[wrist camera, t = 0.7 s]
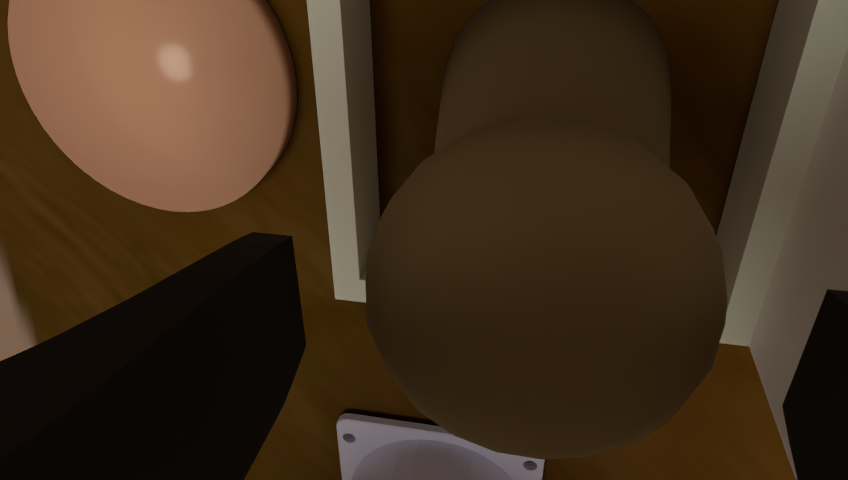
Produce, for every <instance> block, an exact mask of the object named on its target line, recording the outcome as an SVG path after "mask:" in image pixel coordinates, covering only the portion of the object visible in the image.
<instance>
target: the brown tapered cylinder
mask: <svg viewBox="0 0 848 480" xmlns="http://www.w3.org/2000/svg"><path fill="white" fill-rule="evenodd" d="M671 106H672V80H671V72H670V65H669V57H668V50H667V47H666V45H665V43H664V41H663V40H662V38H661V36H660V34H659V32H658V30H657V28H656V26H655V24H654V22H653V21H652V19H651V17H650V16H649V15H648V14H647V13H646V12H645V11H644V10H643V9H641V8H640V7H639V6H638V5H637V4H636V3H635V2H634V1H632V0H489V1H488V2H486V3H485V4H484V5H482V6H481V7H479V8H478V9H477V11H476V12H475V13H474V14H473V16H472V17H471V18H470V20H469V21H468V22H467V24H466V25H465V26H464V27H463V29H462V30H461V31H460V33H459V34H458V35H457V37H456V39H455V42H454V45H453V47H452V50H451V53H450V56H449V59H448V62H447V64H446V67H445V70H444V78H443V86H442V94H441V101H440V109H439V117H438V125H437V133H436V140H435V148H434V154H432V155H430V156H429V157H427V158H426V159H424V160H423V161H422V162H421V163H420V164H419V165H418V167H417V168H416V169H415V170H414V171H413V173H412V174H411V175H410V176H409V177H408V179H407V180H406V181H405V182H404V183H403V184H402V186H401V187H400V188H399V189H398V190H397V192H396V193H395V194H394V195H393V196H392V198H391V199H390V201H389V203H388V205H387V207H386V208H385V210H384V212H383V214H382V216H381V218H380V221H379V224H378V227H377V230H376V233H375V236H374V239H373V242H372V245H371V248H370V251H369V253H368V256H367V261H366V278H365V286H366V306H367V324H368V327H369V329H370V331H371V334H372V336H373V338H374V341H375V343H376V345H377V348H378V350H379V352H380V355H381V357H382V360H383V362H384V364H385V366H386V368H387V370H388V372H389V374H390V376H391V378H392V381H393V382H394V383H395V384H396V385H397V386H398V388H399V389H400V390H401V391H402V392H403V393H404V395H405V396H406V397H407V398H408V399H409V400H410V401H411V403H412V404H413V405H414V406H415V407H416V408H417V410H418V411H419V412H420V413H422V414H423V415H425V416H426V417H428V418H429V419H431V420H432V421H434V422H435V423H437V424H438V425H439V426H441V427H442V428H444V429H445V430H447V431H448V432H450V433H451V434H453V435H454V436H456V437H459V438H461V439H464V440H466V441H469V442H471V443H474V444H477V445H479V446H482V447H484V448H487V449H489V450H492V451H494V452H497V453H504V454H510V455H516V456H523V457H529V458H535V459H542V460H544V459H561V458H579V457H590V456H593V455H597V454H600V453H603V452H607V451H610V450H613V449H617V448H620V447H623V446H627V445H630V444H633V443H634V442H636V441H638V440H639V439H641V438H642V437H644V436H646V435H647V434H649V433H650V432H652V431H654V430H655V429H657V428H658V427H660V426H662V425H663V424H665V423H666V422H668V421H669V420H670V419H671V418H672V417H673V416H674V414H675V413H676V412H677V411H678V409H679V408H680V407H681V406H682V405H683V403H684V402H685V401H686V400H687V398H688V397H689V396H690V395H691V394H692V392H693V391H694V390H695V389H696V388H697V386H698V385H699V384H700V382H701V381H702V380H703V379H704V377H705V376H706V375H707V374H708V372H709V371H710V370H711V368H712V365H713V362H714V358H715V355H716V352H717V349H718V346H719V342H720V339H721V336H722V333H723V330H724V327H725V321H726V311H727V302H728V299H727V290H726V281H725V272H724V263H723V254H722V249H721V247H720V244H719V242H718V239H717V237H716V234H715V232H714V229H713V227H712V226H711V224H710V222H709V220H708V218H707V217H706V215H705V213H704V211H703V210H702V208H701V206H700V204H699V202H698V201H697V199H696V197H695V195H694V194H693V192H692V190H691V188H690V186H689V185H688V183H687V182H685V181H684V180H683V179H682V178H681V177H679V176H678V175H677V174H676V173H675V172H674V171H672V170H671V169H670V139H671Z"/></svg>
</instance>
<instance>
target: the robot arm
mask: <svg viewBox="0 0 848 480" xmlns="http://www.w3.org/2000/svg"><path fill="white" fill-rule="evenodd" d="M305 346H306V340H305V332H304V325H303V317H302V309H301V302H300V294H299V286H298V279H297V271H296V264H295V256H294V248H293V241H292V236H285V235H275V234H265V233H255V232H253V233H250V234H248V235H246V236H244V237H241V238H239V239H237V240H235V241H233V242H231V243H229V244H227V245H226V246H224V247H222V248H220V249H218V250H216V251H214V252H213V253H211V254H209V255H207V256H205V257H204V258H202V259H200V260H198V261H196V262H195V263H193V264H191V265H189V266H188V267H186V268H184V269H182V270H180V271H179V272H177V273H175V274H173V275H171V276H170V277H168V278H166V279H164V280H162V281H161V282H159V283H157V284H155V285H153V286H152V287H150V288H148V289H146V290H144V291H142V292H141V293H139V294H137V295H135V296H133V297H132V298H130V299H128V300H126V301H124V302H122V303H120V304H118V305H116V306H114V307H112V308H110V309H108V310H106V311H104V312H102V313H100V314H98V315H96V316H94V317H93V318H91V319H89V320H87V321H85V322H83V323H81V324H79V325H77V326H75V327H73V328H71V329H69V330H67V331H65V332H63V333H61V334H59V335H57V336H55V337H53V338H51V339H49V340H47V341H45V342H42V343H40V344H38V345H36V346H34V347H32V348H29V349H27V350H25V351H23V352H21V353H18V354H16V355H14V356H12V357H9V358H7V359H5V360H2V361H0V480H244V478H245V476H246V475H247V473H248V471H249V469H250V467H251V465H252V463H253V462H254V460H255V458H256V456H257V454H258V452H259V451H260V449H261V447H262V445H263V443H264V441H265V439H266V437H267V435H268V434H269V432H270V430H271V428H272V426H273V424H274V422H275V420H276V418H277V417H278V415H279V413H280V411H281V409H282V407H283V405H284V403H285V400H286V398H287V395H288V393H289V390H290V388H291V385H292V382H293V380H294V377H295V375H296V372H297V369H298V366H299V363H300V361H301V358H302V355H303V352H304V349H305ZM782 408H783V413H784V418H785V423H786V429H787V434H788V439H789V444H790V449H791V453H792V457H793V462H794V466H795V470H796V475H797V479H798V480H848V291H841V290H831V289H827V291H826V294H825V296H824V299H823V301H822V304H821V307H820V309H819V312H818V314H817V317H816V319H815V322H814V325H813V327H812V330H811V332H810V335H809V338H808V340H807V343H806V345H805V348H804V350H803V353H802V356H801V358H800V361H799V363H798V366H797V369H796V371H795V374H794V376H793V379H792V381H791V384H790V387H789V389H788V392H787V394H786V397H785V400H784V402H783V405H782ZM336 428H337V438H338V447H339V456H340V465H341V475H342V480H542V476H543V469H544V461H545V459H544V460H542V459H535V458H529V457H523V456H516V455H510V454H504V453H497V452H494V451H492V450H489V449H487V448H484V447H482V446H479V445H477V444H474V443H471V442H469V441H466V440H464V439H461V438H459V437H456V436H454V435H453V434H451V433H450V432H448V431H447V430H445V429H444V428H442V427H441V426H435V425H428V424H421V423H414V422H407V421H400V420H393V419H386V418H379V417H373V416H366V415H359V414H352V413H345V414H342V415H341V416H340V417H339V419H338V422H337V425H336ZM348 433H349V434H348ZM350 434H352V435H350ZM528 461H533V462H528Z"/></svg>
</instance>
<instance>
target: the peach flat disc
mask: <svg viewBox="0 0 848 480" xmlns="http://www.w3.org/2000/svg"><path fill="white" fill-rule="evenodd" d="M8 39H9V45H10V51H11V57H12V61H13V64H14V68H15V71H16V75H17V78H18V80H19V83H20V85H21V88H22V90H23V93H24V95H25V97H26V99H27V101H28V103H29V105H30V107H31V109H32V111H33V112H34V114H35V115H36V117H37V118H38V120H39V122H40V123H41V125H42V126H43V128H44V129H45V130H46V132H47V133H48V134H49V136H50V137H51V138H52V140H53V141H54V142H55V143H56V144H57V146H58V147H59V148H60V149H61V150H62V151H63V152H64V153H65V154H66V155H67V157H69V158H70V159H71V160H72V161H73V162H74V163H75V164H76V165H77V166H78V167H79V168H80V169H82V170H83V171H84V172H86V173H87V174H88V175H89V176H91V177H92V178H93V179H95V180H96V181H97V182H99V183H101V184H102V185H104V186H105V187H107V188H108V189H110V190H112V191H114V192H116V193H118V194H120V195H121V196H123V197H125V198H127V199H130V200H133V201H135V202H138V203H140V204H143V205H146V206H150V207H154V208H157V209H162V210H169V211H176V212H195V211H206V210H210V209H214V208H218V207H221V206H224V205H226V204H228V203H231V202H233V201H235V200H237V199H238V198H240V197H241V196H243V195H245V194H246V193H247V192H248V191H250V190H251V189H252V188H253V187H254V186H255V185H257V183H258V182H259V181H260V180H261V179H262V178H263V177H264V176H265V175H266V174H267V173H268V172H269V171H270V169H271V168H272V167H273V166H274V165H275V163H276V162H277V161H278V160H279V158H280V157H281V155H282V153H283V151H284V150H285V148H286V146H287V144H288V141H289V139H290V136H291V133H292V130H293V126H294V122H295V117H296V108H297V80H296V74H295V68H294V63H293V59H292V55H291V52H290V48H289V45H288V42H287V39H286V37H285V35H284V32H283V30H282V28H281V25H280V23H279V21H278V19H277V17H276V16H275V14H274V12H273V10H272V8H271V7H270V5H269V3H268V2H267V0H10V1H9V11H8Z"/></svg>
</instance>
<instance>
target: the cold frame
mask: <svg viewBox="0 0 848 480" xmlns="http://www.w3.org/2000/svg"><path fill="white" fill-rule="evenodd" d="M307 9H308V19H309V30H310V40H311V51H312V61H313V72H314V82H315V93H316V103H317V114H318V124H319V134H320V145H321V155H322V166H323V176H324V187H325V197H326V208H327V218H328V229H329V239H330V250H331V260H332V271H333V281H334V292H335V299H340V300H349V301H358V302H366V286H365V278H366V261H367V256H368V253H369V251H370V248H371V245H372V242H373V239H374V236H375V233H376V230H377V227H378V224H379V221H380V207H379V186H378V165H377V144H376V123H375V102H374V80H373V59H372V38H371V17H370V0H307ZM716 237H717V239H718V242H719V244H720V247H721V249H722V254H723V263H724V272H725V281H726V290H727V299H728V302H727V311H726V321H725V327H724V330H723V333H722V336H721V339H720V342H719V343H724V344H733V345H741V346H749V348H750V351H751V354H752V356H753V359H754V362H755V365H756V368H757V371H758V374H759V376H760V379H761V382H762V385H763V388H764V391H765V394H766V396H767V399H768V402H769V405H770V408H771V411H772V414H773V416H774V419H775V422H776V425H777V428H778V431H779V434H780V436H781V439H782V442H783V445H784V448H785V451H786V454H787V456H788V459H789V462H790V465H791V468H792V471H793V474H794V476H795V479H796V480H798V479H797V475H796V470H795V466H794V462H793V457H792V453H791V449H790V444H789V439H788V434H787V429H786V423H785V418H784V413H783V408H782V405H783V402H784V400H785V397H786V394H787V392H788V389H789V387H790V384H791V381H792V379H793V376H794V374H795V371H796V369H797V366H798V363H799V361H800V358H801V356H802V353H803V350H804V348H805V345H806V343H807V340H808V338H809V335H810V332H811V330H812V327H813V325H814V322H815V319H816V317H817V314H818V312H819V309H820V307H821V304H822V301H823V299H824V296H825V294H826V291H827V289H831V290H841V291H848V0H779V1H778V5H777V8H776V12H775V16H774V20H773V24H772V27H771V31H770V35H769V39H768V42H767V46H766V50H765V54H764V58H763V61H762V65H761V69H760V73H759V77H758V80H757V84H756V88H755V92H754V96H753V99H752V103H751V107H750V111H749V114H748V118H747V122H746V126H745V130H744V133H743V137H742V141H741V145H740V149H739V152H738V156H737V160H736V164H735V167H734V171H733V175H732V179H731V183H730V186H729V190H728V194H727V198H726V202H725V205H724V209H723V213H722V217H721V220H720V224H719V228H718V232H717V236H716Z"/></svg>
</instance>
